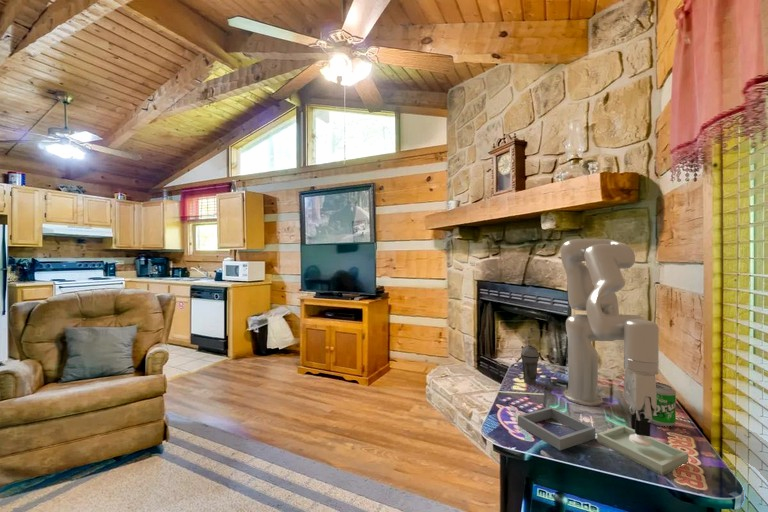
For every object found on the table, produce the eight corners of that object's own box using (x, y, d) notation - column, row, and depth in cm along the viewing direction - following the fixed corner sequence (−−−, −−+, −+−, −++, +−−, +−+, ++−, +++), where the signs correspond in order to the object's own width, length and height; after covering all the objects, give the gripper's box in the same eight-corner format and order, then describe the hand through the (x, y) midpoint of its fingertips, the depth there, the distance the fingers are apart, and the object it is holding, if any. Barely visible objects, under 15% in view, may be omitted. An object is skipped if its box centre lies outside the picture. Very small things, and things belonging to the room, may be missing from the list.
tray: (622, 433, 101) (622, 424, 101) (688, 463, 86) (688, 453, 86) (597, 442, 96) (597, 433, 96) (662, 475, 81) (662, 465, 81)
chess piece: (630, 434, 95) (631, 399, 95) (652, 441, 91) (653, 405, 91) (627, 441, 91) (627, 405, 91) (650, 449, 88) (650, 411, 88)
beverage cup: (541, 386, 137) (541, 337, 137) (522, 384, 138) (522, 336, 138) (536, 379, 144) (537, 333, 144) (518, 378, 146) (519, 332, 145)
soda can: (639, 417, 111) (639, 381, 111) (660, 416, 112) (660, 380, 112) (659, 429, 103) (660, 390, 103) (682, 428, 104) (682, 389, 104)
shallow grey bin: (550, 415, 112) (551, 406, 112) (595, 438, 98) (595, 428, 98) (517, 425, 105) (517, 415, 105) (560, 450, 92) (560, 439, 92)
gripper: (615, 355, 100) (615, 416, 100) (634, 373, 85) (634, 445, 85) (646, 358, 97) (645, 421, 97) (670, 377, 82) (670, 451, 82)
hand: (640, 431), depth 91 cm, fingers closed on chess piece
